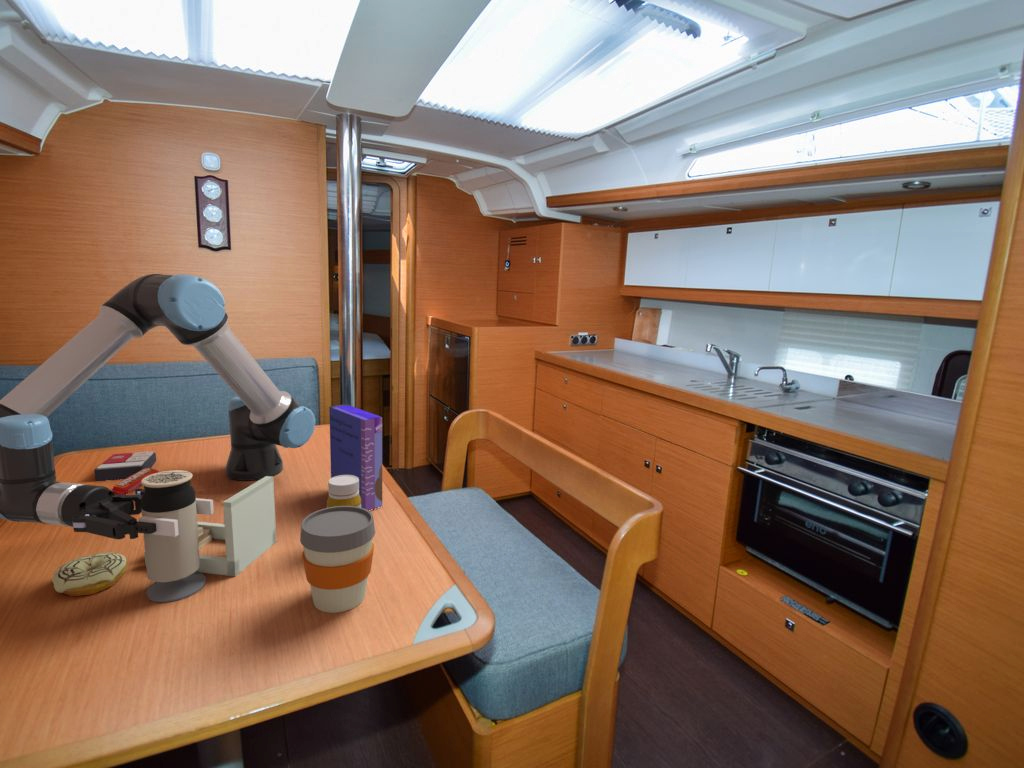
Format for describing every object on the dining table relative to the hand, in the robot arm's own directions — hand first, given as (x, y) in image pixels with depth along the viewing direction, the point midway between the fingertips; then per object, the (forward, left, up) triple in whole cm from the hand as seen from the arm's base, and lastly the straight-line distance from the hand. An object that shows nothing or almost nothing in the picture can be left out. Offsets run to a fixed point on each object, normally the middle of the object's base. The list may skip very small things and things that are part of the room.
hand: (194, 517), depth 89 cm
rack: (-5, -13, -14) cm, 20 cm away
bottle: (-27, +1, -14) cm, 31 cm away
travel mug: (+3, -4, -11) cm, 12 cm away
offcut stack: (-1, -18, -14) cm, 23 cm away
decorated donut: (+14, -15, -15) cm, 26 cm away
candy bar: (+1, -64, -15) cm, 66 cm away
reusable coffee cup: (-18, +18, -14) cm, 29 cm away
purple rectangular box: (-40, -20, -14) cm, 47 cm away
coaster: (+3, -4, -14) cm, 15 cm away
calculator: (+1, -78, -15) cm, 80 cm away
